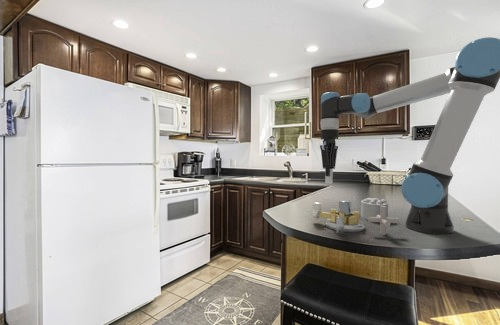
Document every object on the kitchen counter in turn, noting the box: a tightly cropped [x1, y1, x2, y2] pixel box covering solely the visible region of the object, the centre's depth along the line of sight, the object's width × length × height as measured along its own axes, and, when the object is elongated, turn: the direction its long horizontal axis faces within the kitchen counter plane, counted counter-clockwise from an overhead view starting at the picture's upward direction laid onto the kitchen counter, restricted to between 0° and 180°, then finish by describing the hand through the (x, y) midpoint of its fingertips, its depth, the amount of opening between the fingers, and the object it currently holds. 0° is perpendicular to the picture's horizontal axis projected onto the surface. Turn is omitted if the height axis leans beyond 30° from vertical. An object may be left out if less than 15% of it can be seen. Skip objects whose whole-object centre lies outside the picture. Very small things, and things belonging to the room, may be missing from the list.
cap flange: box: [325, 200, 365, 233], centre depth 101 cm, size 14×14×10 cm
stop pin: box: [335, 217, 344, 236], centre depth 91 cm, size 2×2×6 cm
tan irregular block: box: [312, 201, 361, 225], centre depth 103 cm, size 18×11×6 cm, turn 57°
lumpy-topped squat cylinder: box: [360, 197, 389, 220], centre depth 116 cm, size 10×13×9 cm
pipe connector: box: [366, 206, 400, 236], centre depth 91 cm, size 10×10×10 cm
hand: (328, 183), depth 111 cm, fingers closed
